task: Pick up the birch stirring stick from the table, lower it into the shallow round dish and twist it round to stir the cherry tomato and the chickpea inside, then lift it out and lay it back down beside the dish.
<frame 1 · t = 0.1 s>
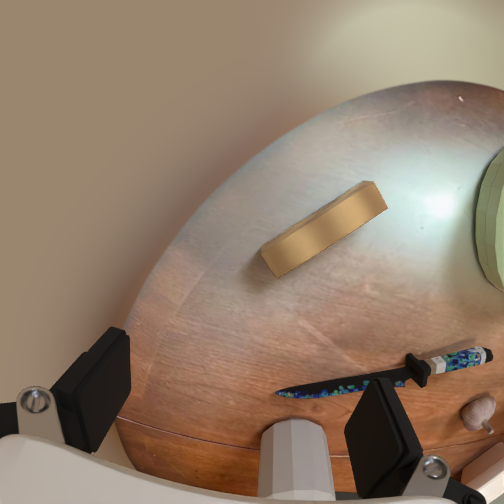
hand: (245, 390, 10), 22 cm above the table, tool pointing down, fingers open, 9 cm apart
stick: (321, 224, 31), on the table
knife: (386, 365, 35), on the table
jar: (293, 434, 39), on the table
garlic bulb: (474, 404, 37), on the table
bowl: (482, 461, 43), on the table
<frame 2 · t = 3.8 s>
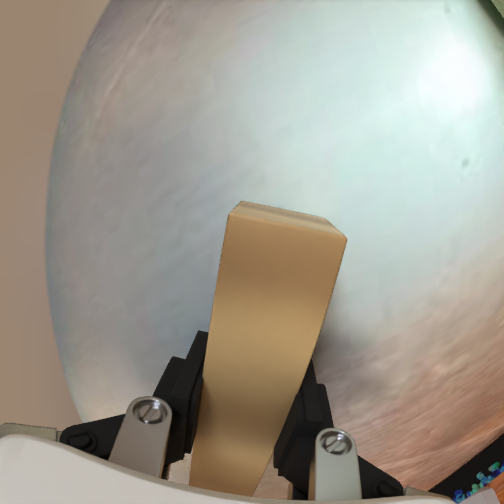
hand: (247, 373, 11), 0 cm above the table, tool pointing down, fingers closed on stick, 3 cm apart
stick: (248, 367, 12), on the table, touching gripper
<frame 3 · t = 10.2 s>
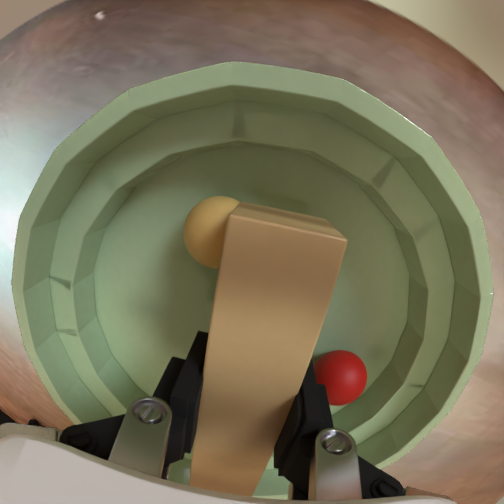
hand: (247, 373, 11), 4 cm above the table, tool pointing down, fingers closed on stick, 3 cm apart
stick: (248, 367, 12), point 3 cm above the table, touching chickpea, gripper
chickpea: (247, 224, 12), point 1 cm above the table, tilted 47°, touching shallow round dish, stick
tomato: (333, 361, 15), point 1 cm above the table, touching shallow round dish
shallow round dish: (248, 316, 15), on the table
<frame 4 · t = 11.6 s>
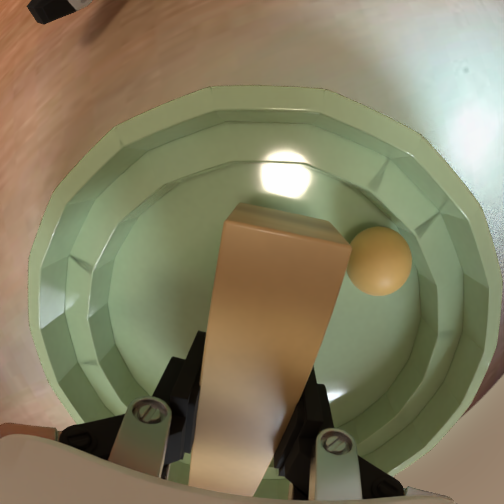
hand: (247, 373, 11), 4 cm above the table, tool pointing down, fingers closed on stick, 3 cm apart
stick: (247, 372, 11), point 4 cm above the table, touching gripper, tomato
chickpea: (371, 227, 12), point 2 cm above the table, tilted 65°, touching shallow round dish
shallow round dish: (262, 330, 15), on the table
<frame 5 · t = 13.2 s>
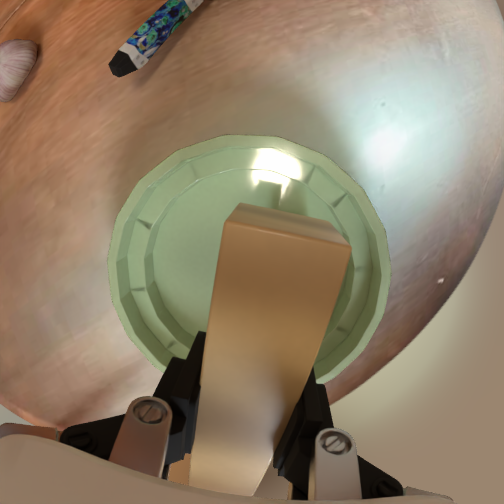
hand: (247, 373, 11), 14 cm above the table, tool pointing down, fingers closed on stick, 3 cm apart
stick: (247, 371, 11), point 14 cm above the table, touching gripper
garlic bulb: (21, 73, 21), on the table
shallow round dish: (249, 268, 25), on the table
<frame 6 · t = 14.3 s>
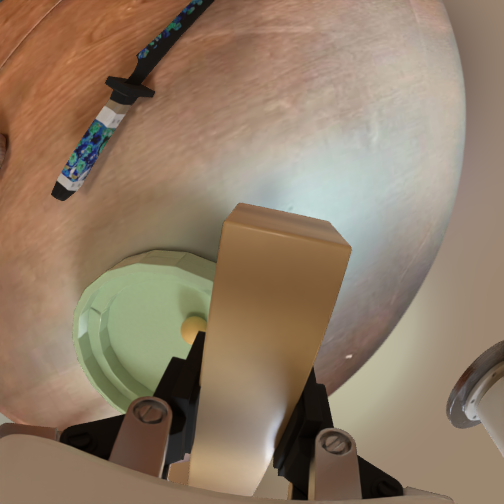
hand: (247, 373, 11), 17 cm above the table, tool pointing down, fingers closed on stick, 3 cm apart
stick: (247, 372, 11), point 17 cm above the table, touching gripper
chickpea: (189, 322, 27), point 3 cm above the table, tilted 118°, touching shallow round dish
knife: (163, 64, 24), on the table
shallow round dish: (177, 341, 31), on the table
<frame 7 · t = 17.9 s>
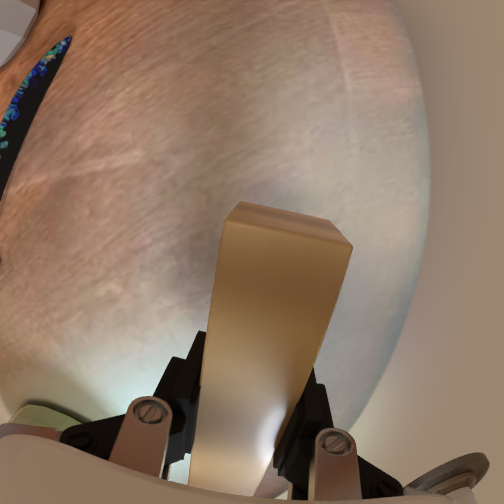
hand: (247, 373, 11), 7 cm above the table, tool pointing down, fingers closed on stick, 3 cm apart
stick: (247, 371, 11), point 6 cm above the table, touching gripper
knife: (1, 222, 18), on the table
jar: (9, 31, 13), on the table
shallow round dish: (89, 464, 25), on the table
when the fingers open (0 cm above the table, at t = 19.7 s): stick stays where it is, on the table.
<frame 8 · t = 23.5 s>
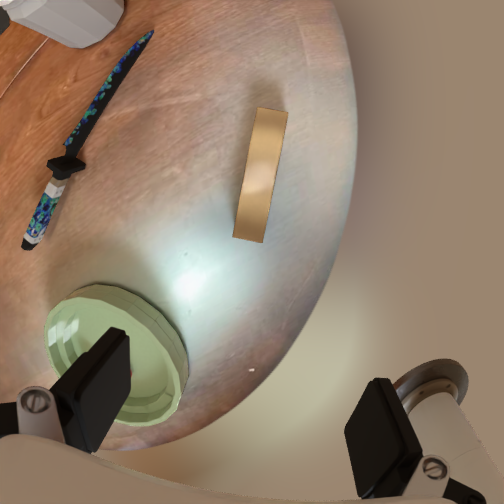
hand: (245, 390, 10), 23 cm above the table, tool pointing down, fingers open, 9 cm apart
stick: (260, 174, 31), on the table
knife: (90, 140, 31), on the table
jar: (96, 20, 26), on the table
shallow round dish: (120, 351, 38), on the table
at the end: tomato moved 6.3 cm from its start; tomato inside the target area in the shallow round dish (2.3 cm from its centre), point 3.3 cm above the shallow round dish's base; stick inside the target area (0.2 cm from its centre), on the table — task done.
